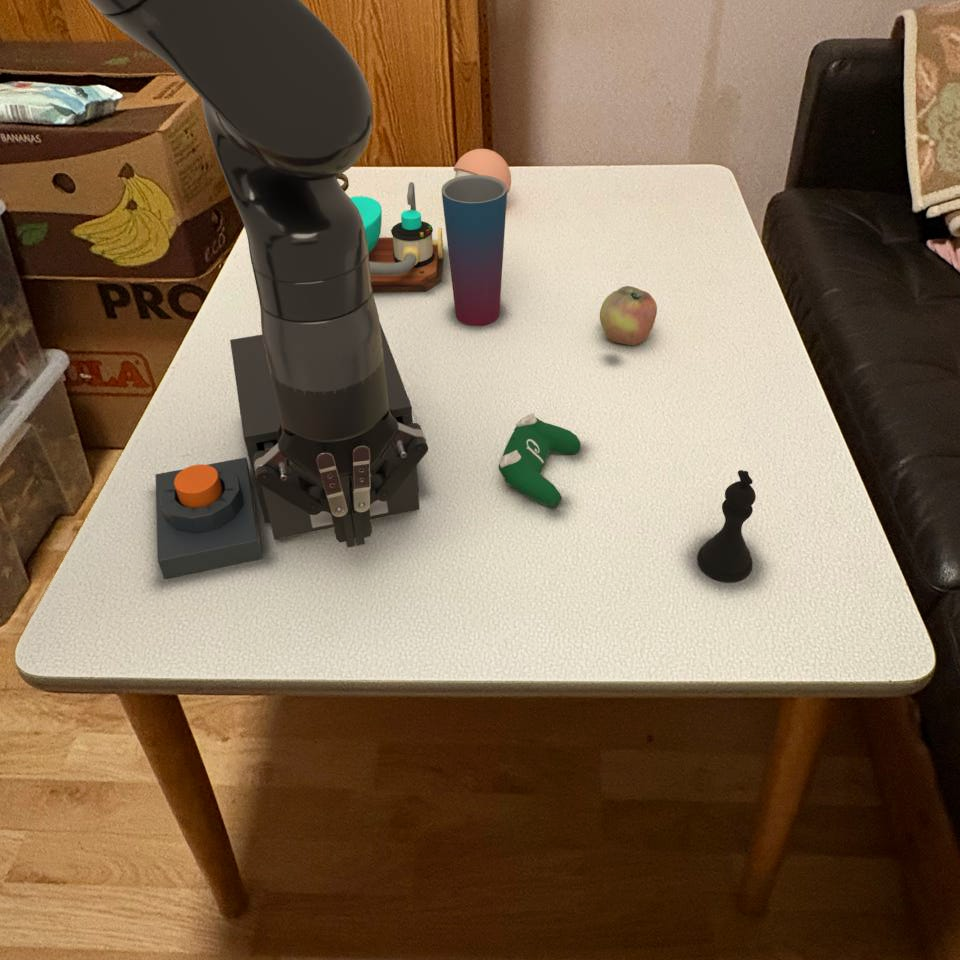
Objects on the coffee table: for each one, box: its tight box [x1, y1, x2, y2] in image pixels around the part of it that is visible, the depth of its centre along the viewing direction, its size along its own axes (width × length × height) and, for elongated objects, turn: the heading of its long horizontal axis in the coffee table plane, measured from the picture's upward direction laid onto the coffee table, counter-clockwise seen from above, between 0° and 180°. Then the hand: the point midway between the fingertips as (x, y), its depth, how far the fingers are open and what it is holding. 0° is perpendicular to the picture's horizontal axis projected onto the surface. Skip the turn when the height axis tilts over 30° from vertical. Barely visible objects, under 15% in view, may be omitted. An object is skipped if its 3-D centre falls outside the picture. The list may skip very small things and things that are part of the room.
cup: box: [441, 175, 508, 327], centre depth 99 cm, size 7×7×15 cm
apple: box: [599, 285, 658, 346], centre depth 97 cm, size 6×8×6 cm
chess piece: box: [696, 469, 757, 583], centre depth 71 cm, size 4×4×10 cm
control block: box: [155, 457, 263, 580], centre depth 78 cm, size 11×8×4 cm
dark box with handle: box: [261, 439, 421, 541], centre depth 78 cm, size 18×12×8 cm
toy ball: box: [453, 148, 512, 195], centre depth 122 cm, size 8×8×8 cm
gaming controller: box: [498, 412, 581, 508], centre depth 82 cm, size 9×4×6 cm
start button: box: [174, 463, 222, 508], centre depth 76 cm, size 4×4×2 cm
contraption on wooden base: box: [336, 172, 445, 293], centre depth 106 cm, size 14×18×15 cm
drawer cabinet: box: [229, 323, 420, 524], centre depth 83 cm, size 15×14×10 cm
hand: (354, 538), depth 71 cm, fingers closed
